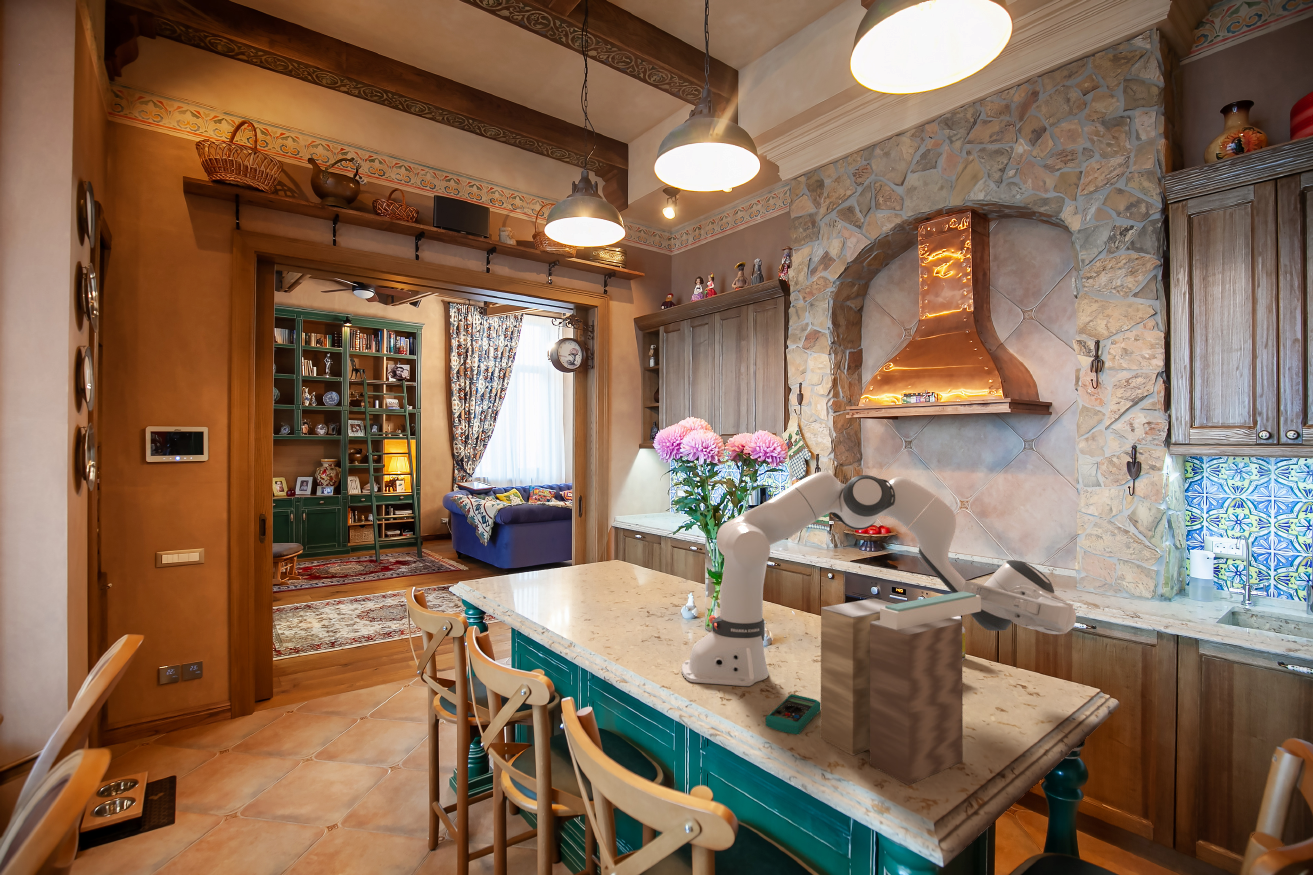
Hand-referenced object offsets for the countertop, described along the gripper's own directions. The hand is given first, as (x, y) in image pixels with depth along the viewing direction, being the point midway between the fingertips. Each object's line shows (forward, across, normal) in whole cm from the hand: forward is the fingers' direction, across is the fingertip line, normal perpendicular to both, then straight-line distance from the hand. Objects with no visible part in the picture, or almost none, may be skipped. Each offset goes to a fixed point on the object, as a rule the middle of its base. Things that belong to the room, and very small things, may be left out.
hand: (994, 596), depth 126 cm
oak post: (+17, -10, +35) cm, 40 cm away
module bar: (+20, 0, +7) cm, 21 cm away
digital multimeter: (+22, -23, +38) cm, 50 cm away
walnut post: (+17, +2, +34) cm, 38 cm away
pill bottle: (-42, -30, +20) cm, 55 cm away
